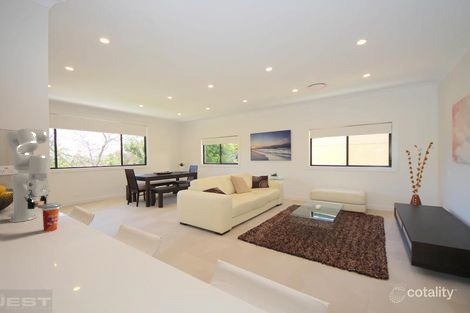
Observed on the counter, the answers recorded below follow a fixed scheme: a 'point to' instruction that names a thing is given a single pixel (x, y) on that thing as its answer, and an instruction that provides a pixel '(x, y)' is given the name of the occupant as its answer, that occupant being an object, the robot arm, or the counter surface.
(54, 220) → the paper cup
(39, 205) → the gray paddle
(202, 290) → the counter surface
